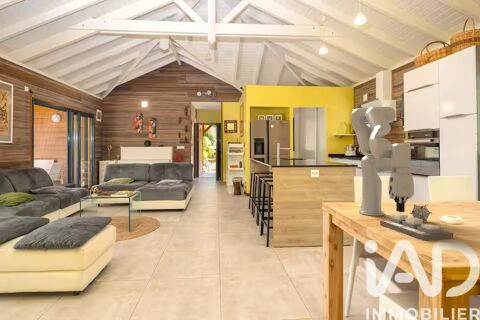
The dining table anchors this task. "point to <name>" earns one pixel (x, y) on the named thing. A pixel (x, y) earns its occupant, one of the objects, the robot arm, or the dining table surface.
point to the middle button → (414, 221)
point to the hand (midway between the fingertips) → (400, 211)
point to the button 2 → (429, 226)
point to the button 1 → (399, 216)
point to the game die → (420, 212)
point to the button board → (416, 230)
